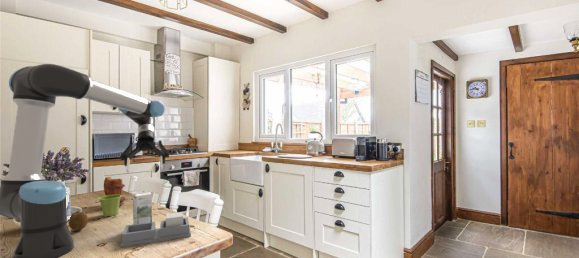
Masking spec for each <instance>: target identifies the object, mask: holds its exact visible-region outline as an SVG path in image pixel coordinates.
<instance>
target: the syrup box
mask: <svg viewBox="0 0 579 258" xmlns="http://www.w3.org/2000/svg"><path fill="white" fill-rule="evenodd" d="M152 199H153V197H152V193H151V192H150V191H142V192H135V193H132V212H133V213H132V214H133V215H132V219H133V221H132V223H133V224H132V225H134V224H142V223H149V222H153V212H152V211H153V210H152V209H153V207H152V206H153V205H152V204H153V203H152V201H153V200H152Z"/></svg>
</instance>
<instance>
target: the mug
mask: <svg viewBox="0 0 579 258" xmlns="http://www.w3.org/2000/svg"><path fill="white" fill-rule="evenodd" d="M125 185H126V184H124V183H123V178H112V177H111V176H107V177H105V178H104V180H103V191H104V194H105V195H104V196H107V195H122V196H121V199H120V203H119V207H120V206H123V204H124V202H125V200H126V197H124V193H123V192H124V187H126V186H125Z"/></svg>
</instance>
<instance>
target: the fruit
mask: <svg viewBox="0 0 579 258" xmlns="http://www.w3.org/2000/svg"><path fill="white" fill-rule="evenodd" d="M88 221H89V218H88V215H87V213H86V212H85V211H81V210H77V211H76V212H74V213H71V217H70V219H69V221H68V225H69V227H70V229H71V230H73V231H76V232H80V231H81V230H83V229H85V228H86V226H87V224H88Z"/></svg>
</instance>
